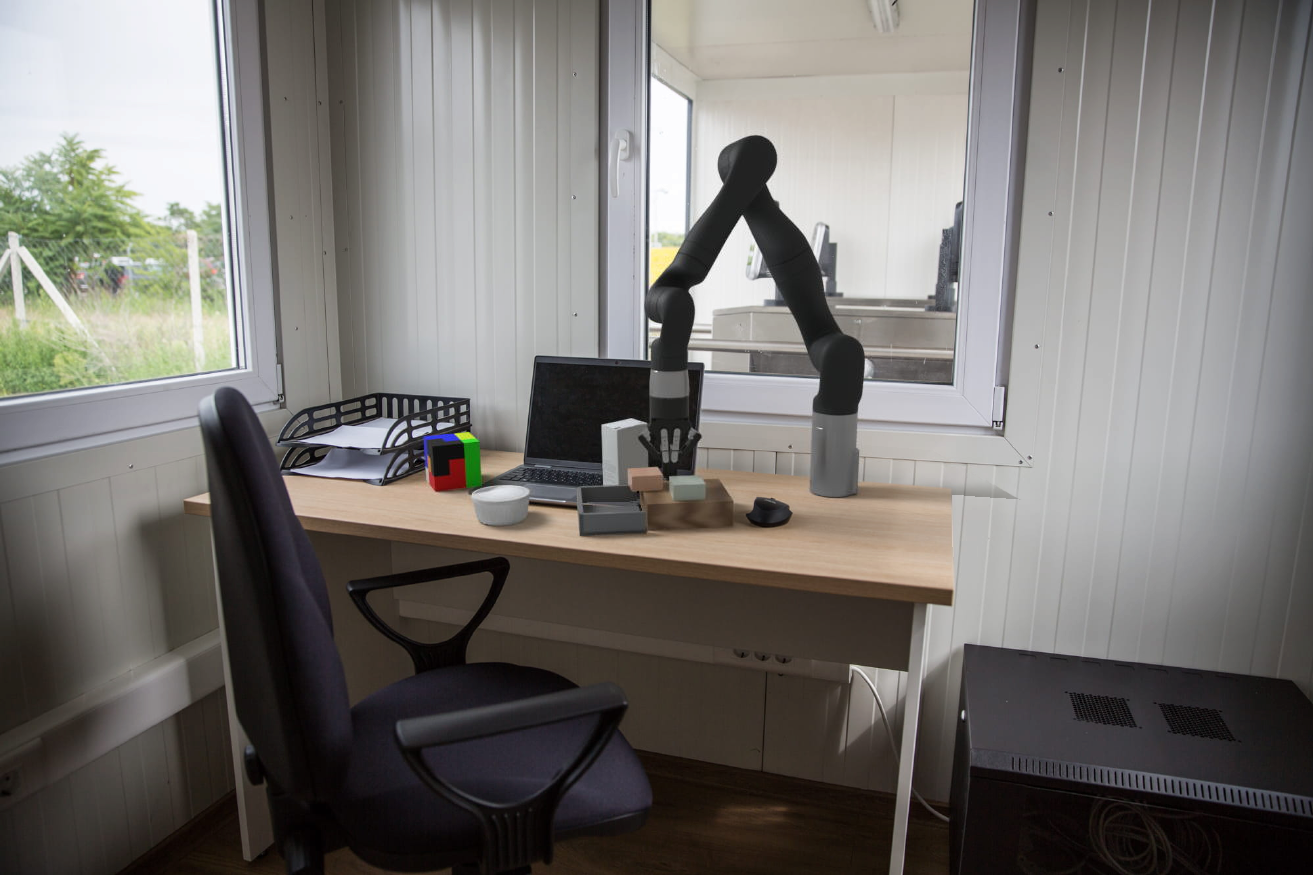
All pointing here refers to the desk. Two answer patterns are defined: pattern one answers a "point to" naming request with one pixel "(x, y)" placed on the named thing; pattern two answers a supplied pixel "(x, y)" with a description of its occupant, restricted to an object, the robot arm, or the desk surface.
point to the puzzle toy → (452, 461)
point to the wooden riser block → (688, 508)
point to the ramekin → (501, 504)
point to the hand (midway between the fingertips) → (669, 479)
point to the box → (609, 511)
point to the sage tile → (687, 487)
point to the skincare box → (622, 450)
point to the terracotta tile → (645, 479)
